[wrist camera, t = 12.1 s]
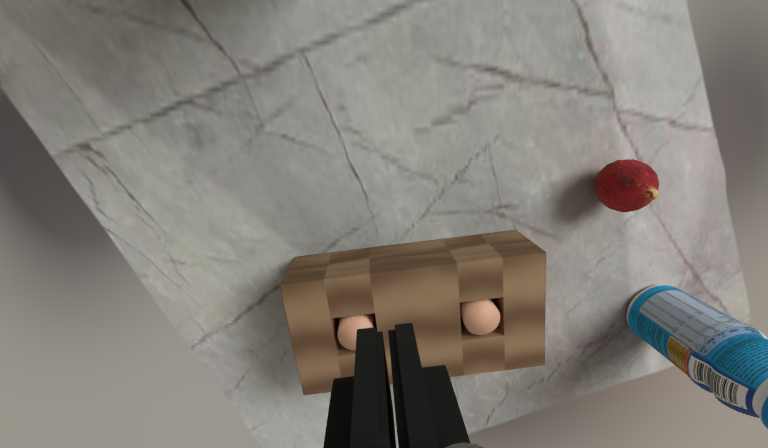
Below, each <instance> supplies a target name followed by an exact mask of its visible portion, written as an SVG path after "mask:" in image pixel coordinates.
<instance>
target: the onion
mask: <svg viewBox="0 0 768 448" xmlns="http://www.w3.org/2000/svg"><path fill="white" fill-rule="evenodd" d="M658 187H659V181H658V177H657V174H656V173H655V171H654V170H653V169H652V168H651V167H650V166H648V165H647V164H645V163H642V162H640V161H637V160H634V159H632V160H617V161H615V162H613V163H610V164H608V165H607V166H605V167H604V168H603V169H602V170H601V171H600V172H599V173H598V175H597V178H596V181H595V190H596V194H597V196H598V199H599V200H600V201H601V202H602V203H603V204H604V205H605V206H607V207H608V208H610V209H613V210H616V211H620V212H629V211H635V210H638V209H641V208H642V207H644V206H646V205H648V204H649V203H650V202H651V201H652V200H654V199H655V198H657V197H658V192H659V191H658Z"/></svg>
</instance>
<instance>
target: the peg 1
mask: <svg viewBox="0 0 768 448" xmlns="http://www.w3.org/2000/svg"><path fill="white" fill-rule="evenodd" d="M371 327H374V313H371V314H363V315H355V316H346V317H340V321H339V327H338V340H339V342H340V343H341V345H342V346H344V347H345V348H347V349H349V350H355V351H356V334H357V329H363V328H371Z"/></svg>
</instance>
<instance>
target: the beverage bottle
mask: <svg viewBox="0 0 768 448" xmlns="http://www.w3.org/2000/svg"><path fill="white" fill-rule="evenodd" d="M627 323H628V325H629V327H630V329H631V330H632V331H633V332H634V333H635V334H636V335H637V336H639V337H640V338H641V339H643V340H645V341H646V342H647V343H648V344H650V345H651V346H652V347H653V348H655V349H656V350H657V351H658V352H659V353H661V354H662V355H663V356H664V357H666V358H667V359H668V360H669V361H671V362H672V363H673V364H674V365H676V366H677V367H678V368H679V369H681V370H682V371H683V372H684V373H685V374H687V375H688V376H689V377H690V379H691V380H692V381H693V382H694V383H696V384H697V385H698V386H700V387H701V388H703V389H705V390H706V391H708V392H711V393H713V394H714V396H715V397H716V398H717V399H718V400H719V401H720V402H721V403H723V404H724V405H726V406H728V407H730V408H731V409H734V410H736V411H738V412H741V413H743V414H747V415H750V416H753V417H758V418H760V420H761V421H762V423H763V424H764V425H765V426H766V428H767V429H768V339H767V337H766V336H765V335H764V334H762V333H761V332H760V331H758V330H757V329H755V328H753V327H752V326H750V325H747V324H745V323H741V322H739V321H737V320H735V319H734V318H732V317H730V316H728V315H726V314H724V313H722V312H720V311H718V310H717V309H715V308H713V307H711V306H709V305H707V304H705V303H703V302H701V301H700V300H698V299H696V298H694V297H692V296H690V295H688V294H687V293H685V292H683V291H682V290H680V289H678V288H676V287H674V286H670V285H654V286H651V287H648V288H646V289H644V290H642V291H641V292H640V293H638V294H637V295H636V296H635V297H634V298H633V300H632V301H631V303H630V305H629V307H628V310H627Z"/></svg>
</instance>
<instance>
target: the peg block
mask: <svg viewBox="0 0 768 448" xmlns="http://www.w3.org/2000/svg"><path fill="white" fill-rule="evenodd" d="M280 288H281V293H282V297H283V302H284V306H285V311H286V316H287V320H288V325H289V330H290V334H291V339H292V343H293V348H294V353H295V357H296V362H297V367H298V371H299V376H300V380H301V385H302V390H303V394H304V395H309V394H317V393H325V392H331V391H332V384H333V380H334V378H342V377H350V376H354V368H355V350H349V349H347V348H345V347H344V346H342V345H341V343H340V342H339V340H338V327H339V321H340V317H346V316H355V315H363V314H371V313H375V314H374V327H375V330H376V332H379V331H382V332H383V339H384V346H385V354H386V361H387V369H388V376H389V384H393V380H392V369H391V358H390V347H389V336H388V330H395V325H396V324H404V323H412V324H413V328H414V333H415V338H416V342H417V347H418V352H419V356H420V361H421V366H422V367H430V366H438V365H445V366H446V368H447V371H448V374H449V377H453V376H461V375H469V374H477V373H485V372H493V371H501V370H509V369H517V368H525V367H533V366H541V365H545V298H546V252H545V251H544V250H542V249H541V248H540V247H538V246H537V245H536V244H534V243H533V242H531V241H530V240H529V239H527V238H526V237H525V236H523V235H522V234H521V233H519V232H518V231H516V230H511V231H503V232H495V233H487V234H479V235H471V236H462V237H454V238H446V239H438V240H430V241H421V242H413V243H405V244H397V245H389V246H380V247H372V248H364V249H356V250H348V251H340V252H331V253H323V254H315V255H307V256H299V257H295V258H294V260H293V262H292V264H291V266H290V267H289V269H288V271H287V273H286V275H285V277H284V278H283V280H282V282H281V284H280ZM484 299H491V300H492V302H493V303H494V305H495V306H496V308H497V309H498V311H499V313H500V322H499V324H498V326H497V327H496V329H495V330H493V331H492V332H490V333H488V334H485V335H476V334H473V333H471V332H470V331H468V330H467V328H466V326H465V324H464V322H463V320H462V318H461V316H460V302H468V301H476V300H484Z"/></svg>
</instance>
